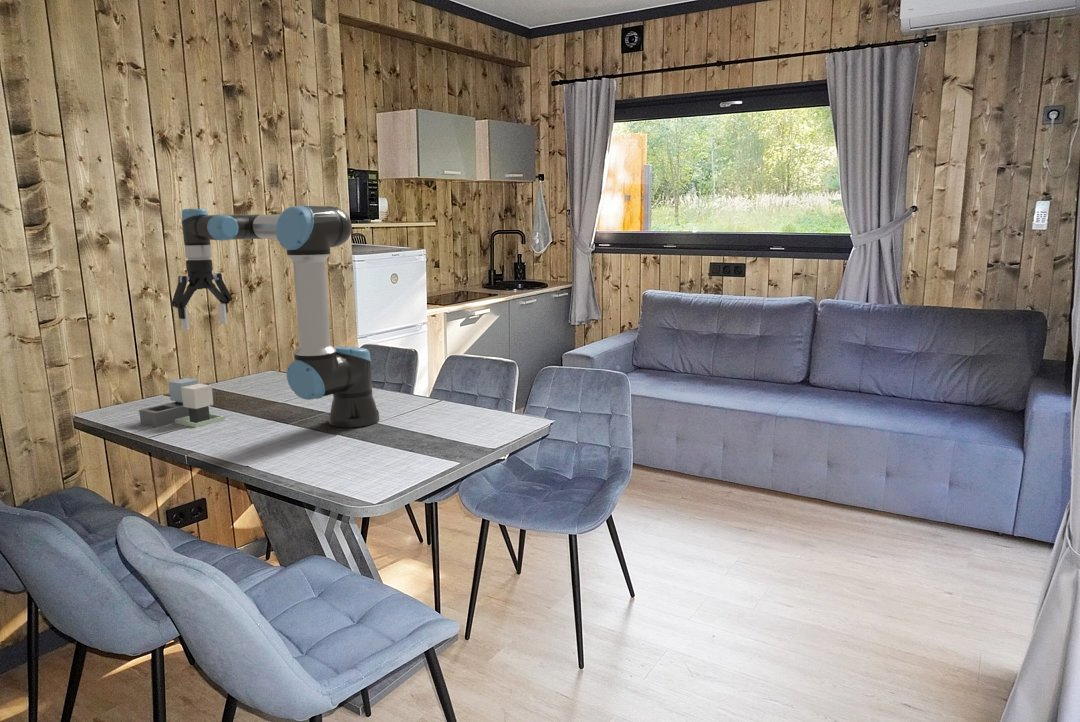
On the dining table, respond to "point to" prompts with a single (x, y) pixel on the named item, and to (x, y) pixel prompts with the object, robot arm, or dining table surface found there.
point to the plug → (197, 401)
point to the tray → (186, 422)
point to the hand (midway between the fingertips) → (205, 326)
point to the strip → (168, 406)
